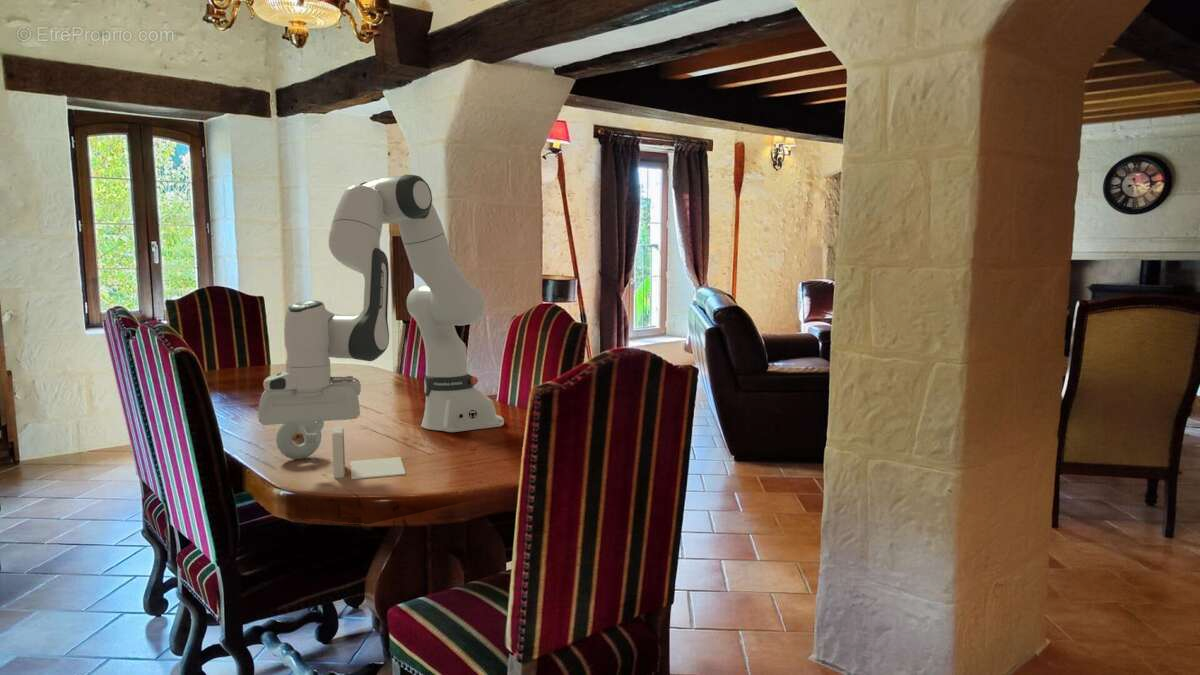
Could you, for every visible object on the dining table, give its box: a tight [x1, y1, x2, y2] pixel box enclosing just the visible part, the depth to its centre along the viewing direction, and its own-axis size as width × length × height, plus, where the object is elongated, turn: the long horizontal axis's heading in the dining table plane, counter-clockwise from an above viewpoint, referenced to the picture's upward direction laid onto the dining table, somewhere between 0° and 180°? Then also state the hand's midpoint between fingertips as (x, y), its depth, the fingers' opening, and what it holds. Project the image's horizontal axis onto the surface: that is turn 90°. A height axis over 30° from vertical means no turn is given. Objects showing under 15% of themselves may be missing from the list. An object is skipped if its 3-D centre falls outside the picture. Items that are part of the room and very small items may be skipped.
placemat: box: [350, 456, 406, 480], centre depth 166 cm, size 11×14×1 cm
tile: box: [331, 426, 346, 479], centre depth 163 cm, size 2×9×9 cm, turn 19°
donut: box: [275, 422, 322, 460], centre depth 173 cm, size 10×4×10 cm, turn 128°
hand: (311, 442), depth 161 cm, fingers closed
